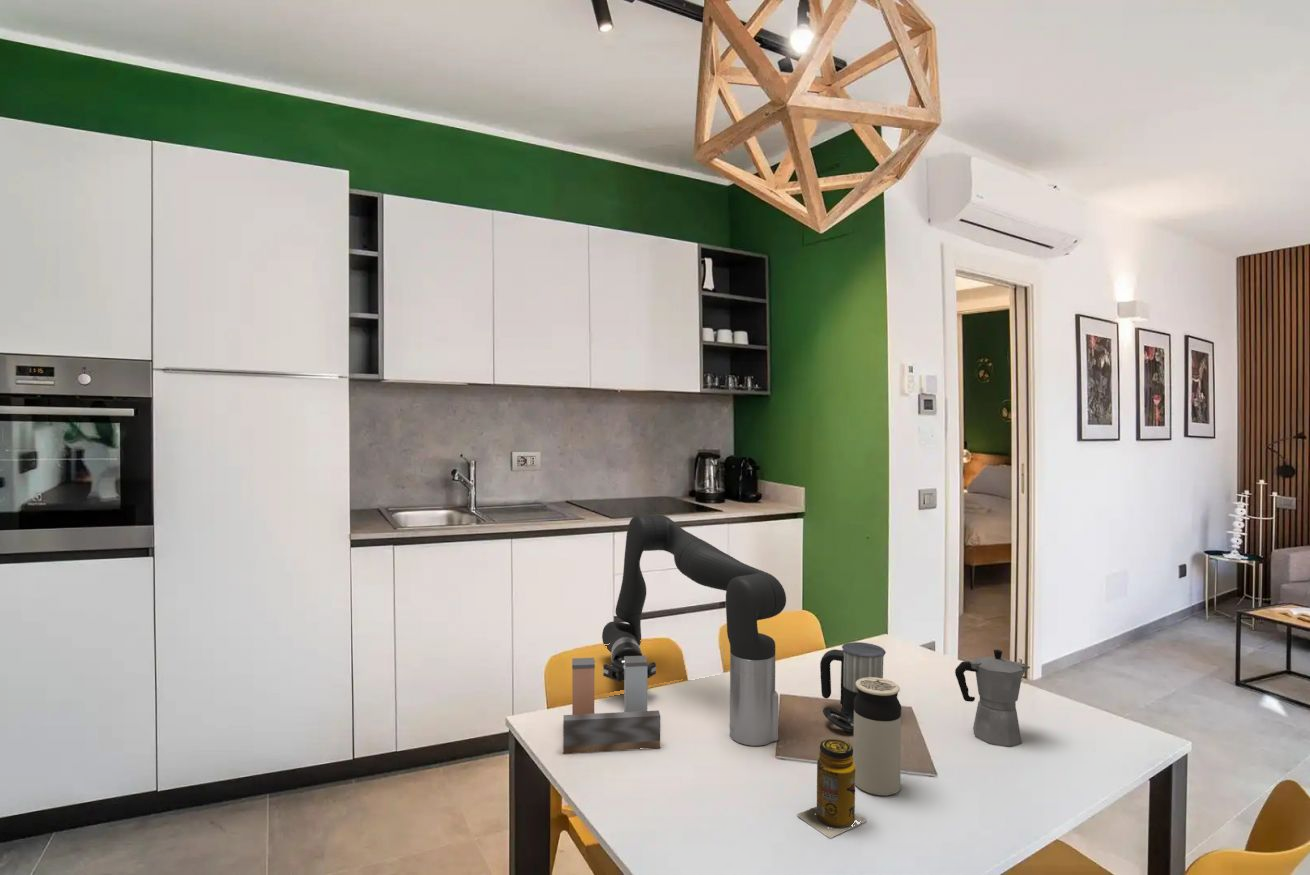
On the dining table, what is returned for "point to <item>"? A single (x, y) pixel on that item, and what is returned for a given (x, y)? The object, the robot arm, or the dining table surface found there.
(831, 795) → the condiment
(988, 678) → the coffeepot
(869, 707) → the travel mug
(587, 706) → the orange-brown tall block
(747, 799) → the dining table surface
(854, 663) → the milk frother
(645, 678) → the grey tall block
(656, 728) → the base
